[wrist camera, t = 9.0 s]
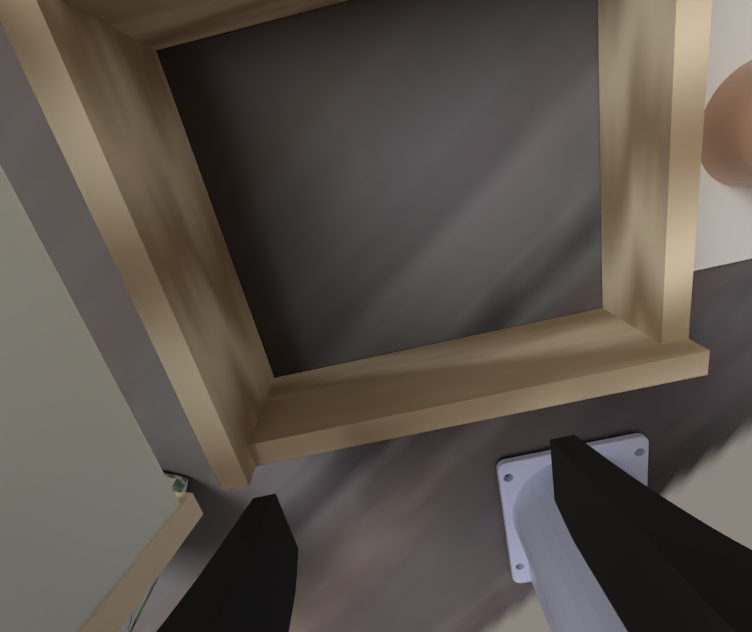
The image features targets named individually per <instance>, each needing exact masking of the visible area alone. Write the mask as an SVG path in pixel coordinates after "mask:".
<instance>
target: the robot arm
mask: <svg viewBox="0 0 752 632" xmlns="http://www.w3.org/2000/svg"><path fill="white" fill-rule="evenodd" d="M550 448H551V450H548V451H542V452H537V453H532V454H527V455H522V456H517V457H512V458H507V459H503V460H501V461H499V462H498V464H497V466H496V469H497V476H498V483H499V491H500V498H501V505H502V512H503V519H504V526H505V533H506V540H507V547H508V554H509V561H510V568H511V574H512V577H513V580H514V581H515V582H517V583H524V582H530V581H531V582H532V584H533V587H534V589H535V592H536V594H537V597H538V599H539V602H540V604H541V606H542V609H543V612H544V614H545V617H546V619H547V622H548V624H549V627H550V629H551V632H752V550H751V549H749V548H747V547H745V546H743V545H741V544H740V543H738V542H736V541H734V540H732V539H730V538H729V537H727V536H725V535H723V534H722V533H720V532H718V531H717V530H715V529H713V528H712V527H710V526H708V525H707V524H705V523H703V522H702V521H700V520H698V519H697V518H695V517H694V516H692V515H690V514H689V513H687V512H685V511H683V510H682V509H681V508H679V507H677V506H676V505H674V504H673V503H671V502H670V501H668V500H667V499H665V498H664V497H662V496H661V495H659V494H658V493H656V492H655V491H653V490H652V489H650V488H649V487H647V483H648V453H649V441H648V439H647V438H646V437H645V436H644V435H643V434H641V433H634V434H629V435H624V436H619V437H614V438H608V439H603V440H598V441H593V442H588V443H585V442H583V441H582V440H581V439H579V438H578V437H576V436H575V435H571V436H566V437H561V438H556V439H551V440H550ZM637 449H638V450H637ZM636 450H637V451H636ZM507 474H510V475H509V476H505V475H507ZM297 560H298V547H297V545H296V542H295V540H294V537H293V535H292V533H291V530H290V528H289V525H288V523H287V520H286V518H285V515H284V513H283V510H282V508H281V506H280V503H279V501H278V498H277V496H276V494H272V495H267V496H262V497H257V498H253V500H252V501H251V502H250V504H249V505H248V507H247V508H246V510H245V511H244V512H243V514H242V515H241V517H240V518H239V520H238V521H237V523H236V524H235V525H234V527H233V528H232V530H231V531H230V533H229V534H228V536H227V537H226V539H225V540H224V541H223V543H222V544H221V546H220V547H219V549H218V550H217V552H216V553H215V554H214V556H213V557H212V559H211V560H210V561H209V563H208V564H207V566H206V567H205V568H204V570H203V571H202V573H201V574H200V575H199V577H198V578H197V580H196V581H195V582H194V584H193V585H192V586H191V588H190V589H189V590H188V592H187V593H186V594H185V595H184V597H183V598H182V599H181V601H180V602H179V603H178V605H177V606H176V607H175V609H174V610H173V611H172V613H171V614H170V615H169V616H168V618H167V619H166V620H165V622H164V623H163V624H162V625H161V627H160V628H159V629H158V630H157V632H289V626H290V620H291V614H292V609H293V603H294V597H295V589H296V576H297Z"/></svg>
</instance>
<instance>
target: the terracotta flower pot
mask: <svg viewBox="0 0 752 632" xmlns="http://www.w3.org/2000/svg"><path fill="white" fill-rule="evenodd" d="M701 163H702V165H703V167H704V169H705V170H706V171H707V173H708V174H709V175H710V176H711V177H712V178H713V179H715V180H716V181H718V182H720V183H722V184H725V185H728V186H734V187H746V188H752V60H750V61H748V62H747V63H745V64H743V65H742V66H740V67H739V68H738V69H736V70H735V71H734V72H732V73H731V74H730V75H729V76H728V77H727V78H726V79H725V80H724V81H723V82H722V83H721V85H720V86H719V87H718V88H717V90H716V91H715V92H714V94H713V95H712V97H711V99H710V100H709V102H708V104H707V106H706V108H705V112H704V126H703V140H702V154H701Z"/></svg>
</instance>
